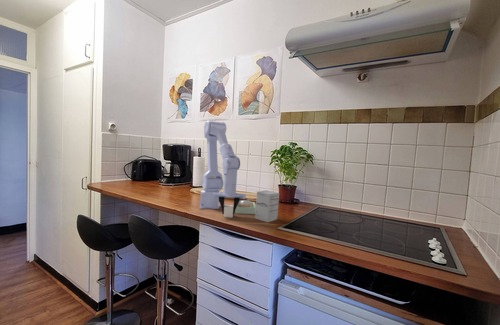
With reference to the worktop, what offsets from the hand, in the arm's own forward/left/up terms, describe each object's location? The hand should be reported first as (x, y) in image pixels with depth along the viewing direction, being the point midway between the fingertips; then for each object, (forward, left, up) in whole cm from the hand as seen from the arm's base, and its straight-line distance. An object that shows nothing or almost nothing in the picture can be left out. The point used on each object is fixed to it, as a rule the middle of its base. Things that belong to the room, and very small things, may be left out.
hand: (228, 213), depth 105 cm
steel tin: (+8, +12, -1) cm, 14 cm away
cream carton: (0, 0, -1) cm, 1 cm away
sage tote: (+8, +11, -1) cm, 14 cm away
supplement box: (+17, -2, -2) cm, 17 cm away
